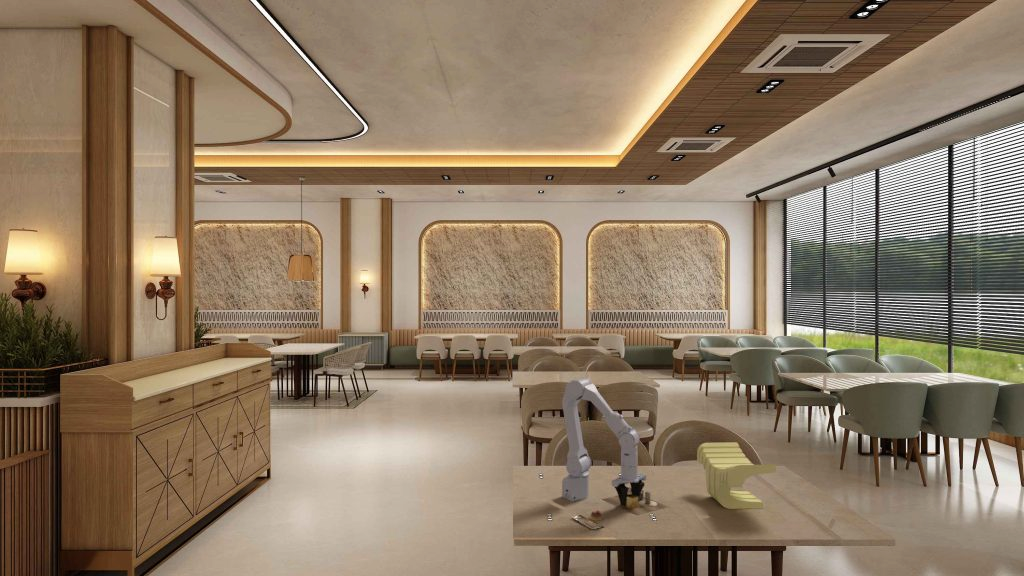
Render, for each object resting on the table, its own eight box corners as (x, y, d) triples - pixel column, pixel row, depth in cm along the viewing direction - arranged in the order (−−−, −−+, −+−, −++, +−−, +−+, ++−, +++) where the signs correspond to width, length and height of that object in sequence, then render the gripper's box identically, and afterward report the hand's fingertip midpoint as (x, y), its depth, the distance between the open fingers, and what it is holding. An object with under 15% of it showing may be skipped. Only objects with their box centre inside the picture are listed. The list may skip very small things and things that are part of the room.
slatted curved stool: (697, 488, 231) (697, 442, 232) (737, 488, 232) (737, 442, 233) (729, 518, 202) (729, 465, 202) (775, 517, 202) (775, 464, 203)
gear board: (636, 518, 201) (636, 503, 201) (601, 502, 216) (601, 488, 216) (668, 509, 209) (668, 495, 209) (632, 494, 224) (632, 481, 224)
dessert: (621, 525, 196) (621, 510, 196) (592, 532, 190) (592, 517, 190) (599, 513, 207) (599, 499, 207) (570, 520, 201) (570, 505, 201)
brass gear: (628, 509, 207) (628, 499, 207) (619, 504, 211) (619, 494, 211) (639, 506, 209) (639, 496, 209) (629, 502, 214) (629, 492, 214)
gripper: (621, 471, 203) (621, 511, 203) (652, 464, 211) (652, 503, 211) (607, 465, 209) (607, 504, 209) (638, 459, 217) (638, 497, 217)
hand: (629, 503), depth 210 cm, fingers closed on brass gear, 5 cm apart
